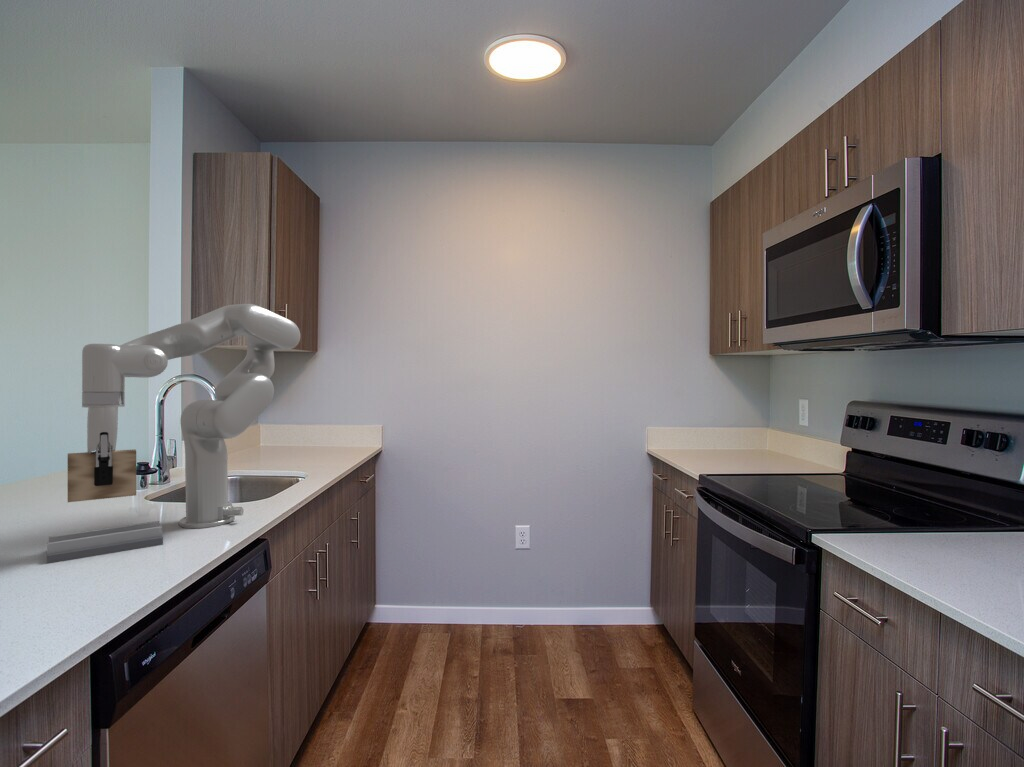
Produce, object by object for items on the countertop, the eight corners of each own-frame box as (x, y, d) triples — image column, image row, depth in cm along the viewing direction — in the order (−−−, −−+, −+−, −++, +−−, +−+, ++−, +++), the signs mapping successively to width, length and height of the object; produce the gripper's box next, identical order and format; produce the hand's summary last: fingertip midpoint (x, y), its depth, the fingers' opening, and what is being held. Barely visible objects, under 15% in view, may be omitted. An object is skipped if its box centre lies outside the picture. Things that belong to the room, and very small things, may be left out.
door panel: (135, 493, 126) (135, 449, 126) (136, 495, 124) (136, 450, 124) (68, 499, 119) (67, 453, 119) (67, 502, 116) (67, 455, 116)
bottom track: (158, 533, 132) (158, 519, 132) (163, 544, 124) (162, 528, 124) (49, 550, 120) (49, 534, 120) (47, 563, 112) (46, 546, 112)
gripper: (82, 399, 125) (82, 480, 125) (81, 402, 112) (81, 492, 113) (122, 398, 130) (122, 476, 130) (126, 401, 117) (126, 488, 117)
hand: (103, 483), depth 121 cm, fingers closed on door panel, 3 cm apart
